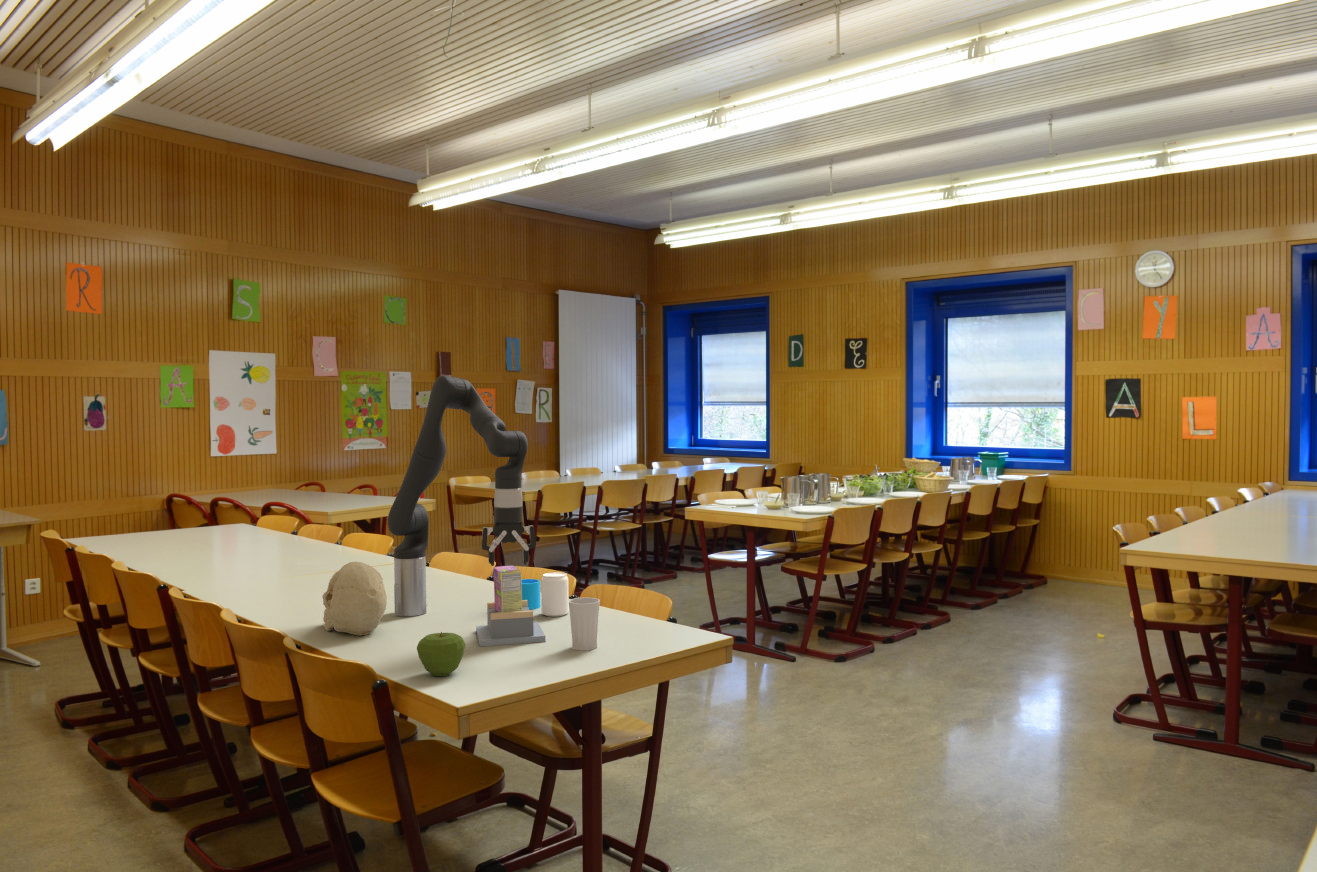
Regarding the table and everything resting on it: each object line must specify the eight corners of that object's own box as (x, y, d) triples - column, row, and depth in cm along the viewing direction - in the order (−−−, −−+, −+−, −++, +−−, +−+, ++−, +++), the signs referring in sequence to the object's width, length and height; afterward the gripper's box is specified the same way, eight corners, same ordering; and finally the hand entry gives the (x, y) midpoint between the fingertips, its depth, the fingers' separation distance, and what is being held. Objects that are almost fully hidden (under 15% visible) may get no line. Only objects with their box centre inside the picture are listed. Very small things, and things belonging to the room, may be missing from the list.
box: (493, 609, 243) (493, 566, 242) (514, 607, 245) (513, 565, 244) (501, 617, 233) (500, 572, 233) (522, 615, 235) (521, 571, 235)
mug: (545, 607, 275) (545, 580, 275) (524, 611, 269) (524, 584, 269) (522, 601, 284) (521, 576, 283) (501, 605, 278) (500, 580, 278)
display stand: (479, 646, 229) (479, 615, 228) (476, 631, 245) (475, 602, 245) (545, 641, 233) (545, 611, 233) (537, 626, 249) (537, 598, 249)
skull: (355, 617, 262) (356, 550, 260) (398, 636, 243) (398, 564, 242) (306, 625, 251) (306, 556, 250) (346, 646, 233) (347, 571, 232)
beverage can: (574, 613, 265) (573, 574, 265) (553, 618, 259) (553, 577, 259) (556, 609, 271) (556, 571, 271) (536, 614, 265) (535, 574, 265)
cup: (588, 652, 221) (587, 605, 221) (562, 648, 226) (562, 601, 225) (606, 645, 228) (605, 599, 228) (581, 641, 232) (581, 596, 232)
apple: (469, 667, 210) (468, 625, 209) (460, 680, 199) (460, 636, 199) (423, 667, 209) (422, 626, 209) (412, 681, 199) (411, 637, 199)
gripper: (482, 507, 232) (482, 568, 233) (536, 505, 236) (536, 565, 236) (480, 504, 240) (481, 563, 240) (533, 502, 243) (533, 561, 244)
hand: (508, 564), depth 238 cm, fingers open, 8 cm apart
